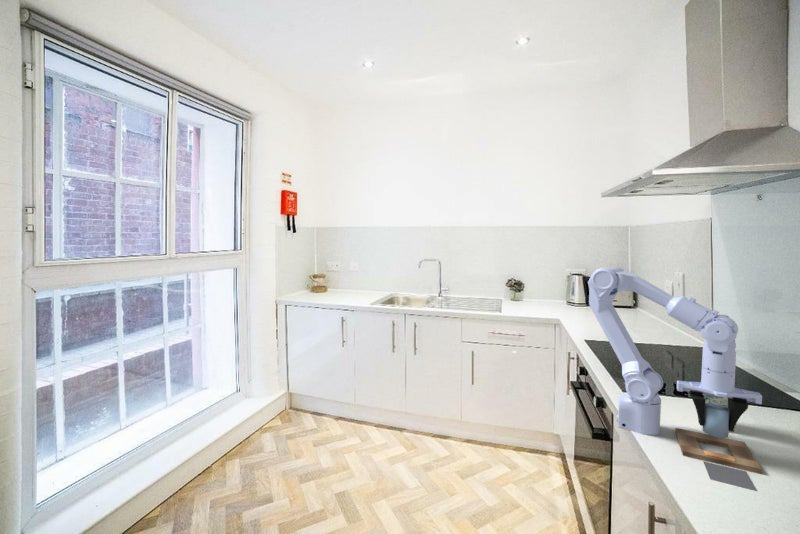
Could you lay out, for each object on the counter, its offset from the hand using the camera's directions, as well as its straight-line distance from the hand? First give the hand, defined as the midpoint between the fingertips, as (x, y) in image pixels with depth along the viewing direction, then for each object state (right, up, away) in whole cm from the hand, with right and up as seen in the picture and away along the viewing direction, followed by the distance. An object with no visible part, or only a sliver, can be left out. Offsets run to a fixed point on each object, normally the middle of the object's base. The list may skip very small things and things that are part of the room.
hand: (715, 426), depth 83 cm
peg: (0, -1, 0) cm, 1 cm away
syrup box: (+12, -6, +14) cm, 20 cm away
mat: (-5, -7, -8) cm, 12 cm away
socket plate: (0, -7, 0) cm, 7 cm away
